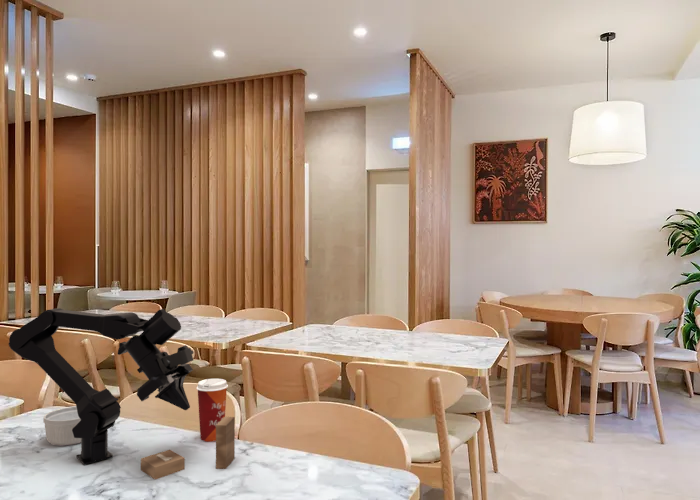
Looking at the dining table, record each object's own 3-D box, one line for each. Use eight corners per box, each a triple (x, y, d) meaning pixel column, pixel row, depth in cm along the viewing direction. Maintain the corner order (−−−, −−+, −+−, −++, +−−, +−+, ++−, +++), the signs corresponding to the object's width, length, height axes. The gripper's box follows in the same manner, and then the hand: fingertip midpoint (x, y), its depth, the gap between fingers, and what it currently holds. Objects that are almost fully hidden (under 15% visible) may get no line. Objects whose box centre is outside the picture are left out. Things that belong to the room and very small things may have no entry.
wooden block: (215, 468, 114) (215, 425, 114) (224, 457, 120) (224, 416, 120) (225, 469, 114) (226, 425, 114) (234, 458, 120) (234, 416, 120)
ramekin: (35, 439, 132) (36, 413, 132) (88, 426, 142) (88, 401, 142) (53, 452, 123) (53, 424, 123) (108, 437, 133) (108, 411, 133)
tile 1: (140, 471, 113) (140, 457, 113) (169, 462, 118) (169, 448, 118) (155, 481, 108) (155, 466, 108) (184, 470, 114) (184, 456, 114)
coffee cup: (219, 444, 128) (219, 386, 128) (190, 442, 130) (190, 384, 130) (233, 433, 136) (233, 378, 137) (205, 430, 138) (205, 377, 138)
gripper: (156, 340, 109) (200, 396, 108) (189, 331, 128) (226, 379, 126) (118, 372, 109) (160, 429, 108) (155, 359, 128) (192, 407, 126)
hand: (188, 408), depth 117 cm, fingers closed
